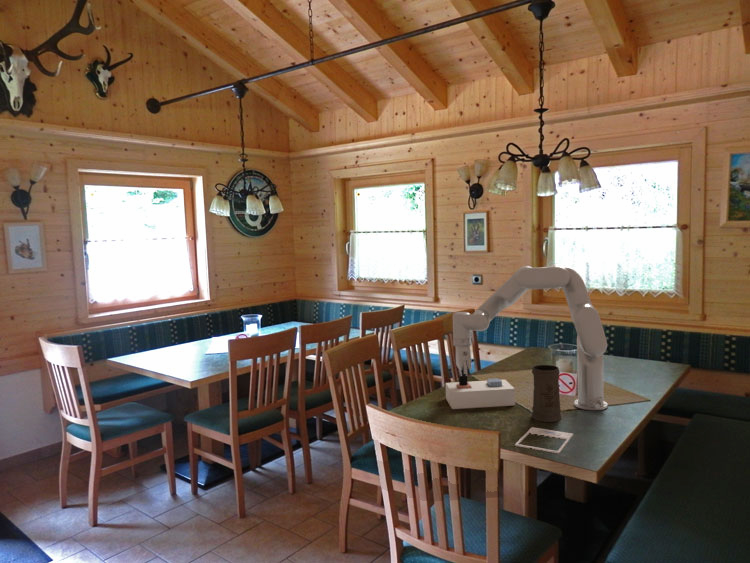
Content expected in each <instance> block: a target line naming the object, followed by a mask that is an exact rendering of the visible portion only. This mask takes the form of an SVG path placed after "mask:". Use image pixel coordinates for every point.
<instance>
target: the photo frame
mask: <svg viewBox="0 0 750 563" xmlns="http://www.w3.org/2000/svg"><path fill="white" fill-rule="evenodd" d="M529 433H531V434H529ZM534 434H537V435H536V436H540V435H544V436H543V437H546V436H549V437H548V438H552V437H555V438H554V439H558V438H560V440H564V439H565V440H564V442H563V444H562V445H561V446H560V447H559V448H558V450H553V449H549V448H542V447H538V446H537V447H536V446H532V445H531V446H530V445H527V444H526V445H524V444H521V442H523V440H524V439H525V438H526V437H528V435H534ZM573 437H574V433H570V432H566V431H565V432H564V431H557V430H551V429H547V428H540V427H534V426H533V427H530V428H529V429H528V431H526V433H525V434H524V435H522V436H521V437H520V438H519V440H518V441H516V443H515V444H514V446H515V447H521V448H526V449H530V448H532V450H537V451H541V450H542V451H541V452H548V453H553V454H558V455H559V454H560V453H561V452H562V450H564V448H565V447H566V445H568V443H569V441H570V440H571V439H572V438H573Z"/></svg>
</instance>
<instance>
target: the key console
mask: <svg viewBox="0 0 750 563" xmlns="http://www.w3.org/2000/svg"><path fill="white" fill-rule="evenodd" d="M500 380H501V381H502V387H489V386H488V385H487V380H475V381H473V380H472V381H467V382H468V383H469V384H470V386H471V388H468V389H458V388H457V383H459V381H457V382H456V381H455V382H454V381H453V382H445V399H446V401H447V402H448V404H449V406H450V408H451V409H452V410H461V409H476V408H494V407H507V406H509V407H510V406H516V392H515V387H514V386H512V384H511V383H510V382H508V381H507V379H500Z"/></svg>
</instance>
